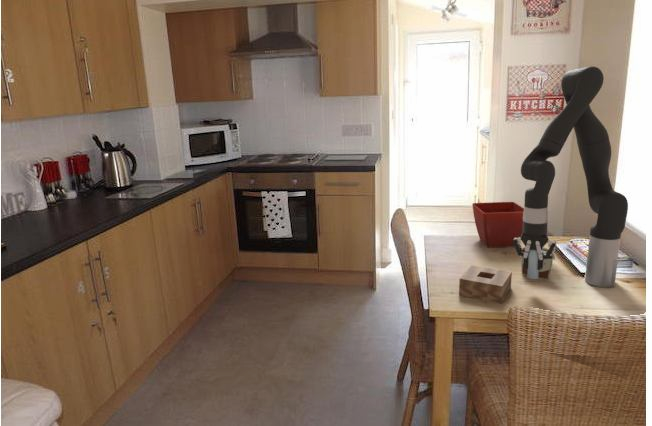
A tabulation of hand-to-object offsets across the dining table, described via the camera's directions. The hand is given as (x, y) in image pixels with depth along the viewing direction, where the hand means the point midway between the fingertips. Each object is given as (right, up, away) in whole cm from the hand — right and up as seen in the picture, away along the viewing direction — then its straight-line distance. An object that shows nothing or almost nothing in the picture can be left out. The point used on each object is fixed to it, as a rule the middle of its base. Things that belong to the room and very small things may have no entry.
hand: (533, 268), depth 161 cm
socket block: (-15, -8, +4) cm, 18 cm away
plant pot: (+7, +5, +53) cm, 54 cm away
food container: (+9, -4, +16) cm, 19 cm away
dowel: (0, -3, +1) cm, 3 cm away
